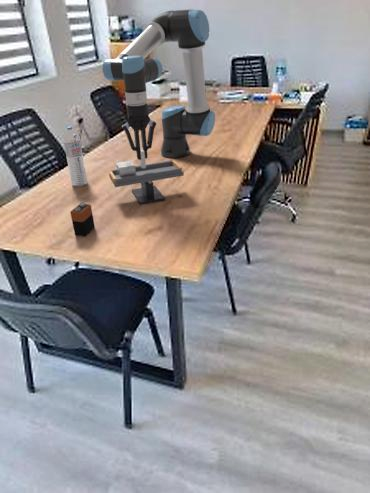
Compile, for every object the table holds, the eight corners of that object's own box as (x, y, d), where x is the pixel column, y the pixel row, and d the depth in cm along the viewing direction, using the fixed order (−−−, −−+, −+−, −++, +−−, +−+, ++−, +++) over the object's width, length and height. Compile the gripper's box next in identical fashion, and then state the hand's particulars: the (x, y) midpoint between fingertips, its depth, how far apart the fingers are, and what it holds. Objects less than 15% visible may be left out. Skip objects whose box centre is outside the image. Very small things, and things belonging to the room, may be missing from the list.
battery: (95, 227, 140) (90, 201, 135) (85, 237, 135) (80, 210, 130) (84, 226, 141) (79, 200, 136) (74, 235, 136) (68, 209, 131)
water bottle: (72, 188, 173) (60, 129, 160) (71, 182, 179) (60, 125, 166) (88, 186, 175) (78, 128, 162) (87, 180, 180) (77, 124, 168)
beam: (174, 168, 167) (173, 159, 165) (183, 178, 157) (183, 168, 155) (109, 179, 160) (108, 170, 157) (115, 190, 150) (114, 180, 148)
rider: (132, 172, 158) (131, 160, 156) (136, 177, 153) (134, 165, 151) (117, 175, 157) (115, 162, 154) (120, 180, 152) (119, 167, 149)
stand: (155, 188, 169) (153, 172, 166) (165, 200, 158) (163, 183, 154) (132, 192, 166) (130, 176, 163) (140, 205, 155) (138, 188, 151)
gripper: (121, 107, 139) (128, 172, 151) (157, 103, 142) (162, 167, 154) (116, 103, 145) (124, 166, 157) (151, 100, 148) (156, 161, 160)
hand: (143, 166), depth 156 cm, fingers closed
